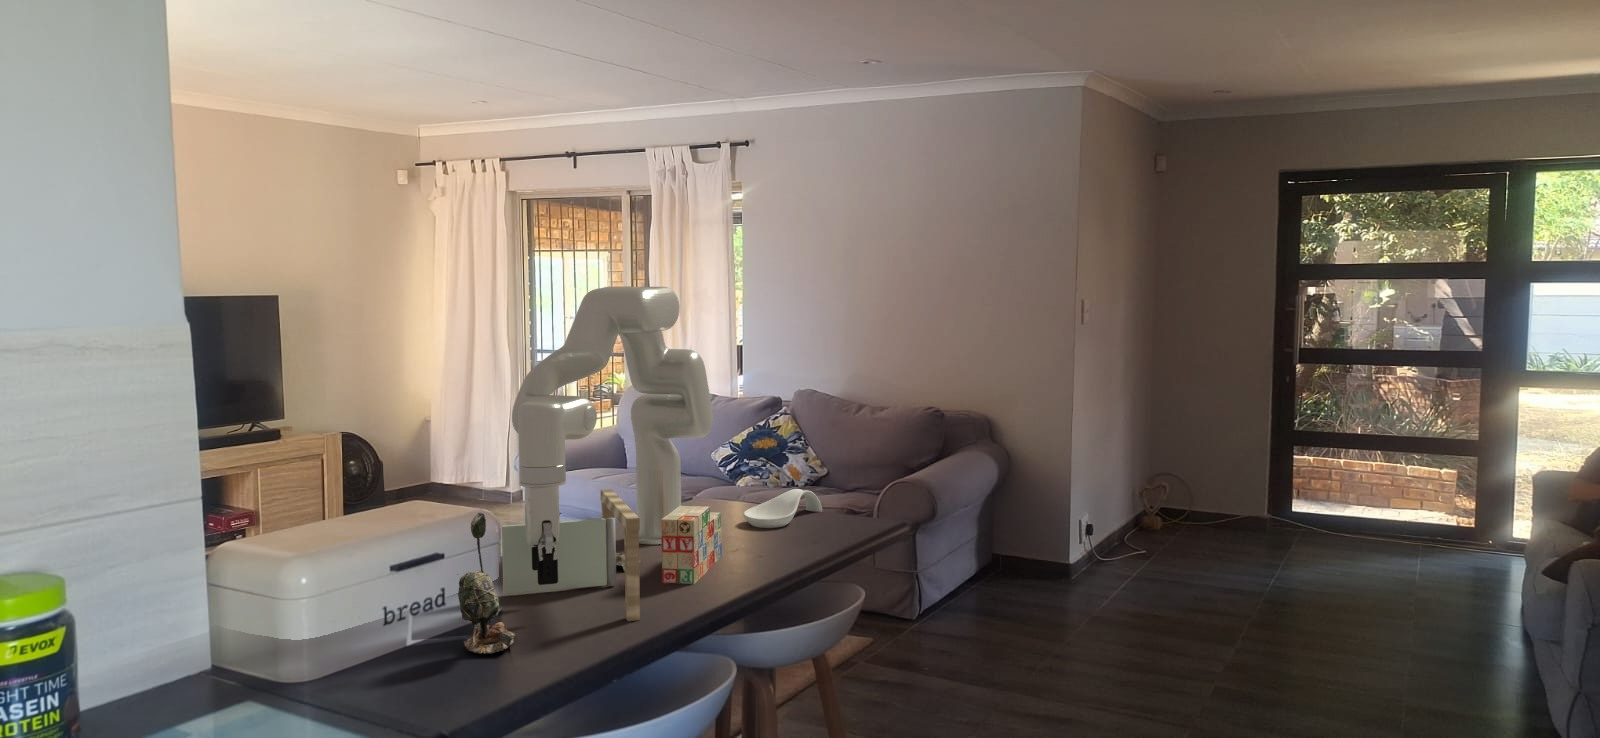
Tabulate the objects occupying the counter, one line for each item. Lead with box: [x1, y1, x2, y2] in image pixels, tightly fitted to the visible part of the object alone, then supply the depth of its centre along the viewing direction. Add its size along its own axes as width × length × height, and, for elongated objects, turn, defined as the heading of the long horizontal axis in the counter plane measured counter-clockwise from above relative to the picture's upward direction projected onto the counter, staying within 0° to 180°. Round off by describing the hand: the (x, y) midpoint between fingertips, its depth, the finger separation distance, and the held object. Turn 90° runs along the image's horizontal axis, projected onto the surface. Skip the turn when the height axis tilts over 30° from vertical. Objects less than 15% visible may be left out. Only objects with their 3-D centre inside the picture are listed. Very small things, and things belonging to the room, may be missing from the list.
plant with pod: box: [456, 512, 516, 654], centre depth 163 cm, size 8×11×20 cm
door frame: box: [599, 488, 641, 622], centre depth 188 cm, size 28×2×17 cm, turn 19°
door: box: [501, 517, 617, 595], centre depth 194 cm, size 20×2×12 cm, turn 109°
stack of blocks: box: [660, 505, 723, 585], centre depth 209 cm, size 21×6×12 cm, turn 170°
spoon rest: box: [742, 488, 823, 529], centre depth 252 cm, size 24×12×7 cm, turn 144°
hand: (544, 576), depth 182 cm, fingers open, 9 cm apart
